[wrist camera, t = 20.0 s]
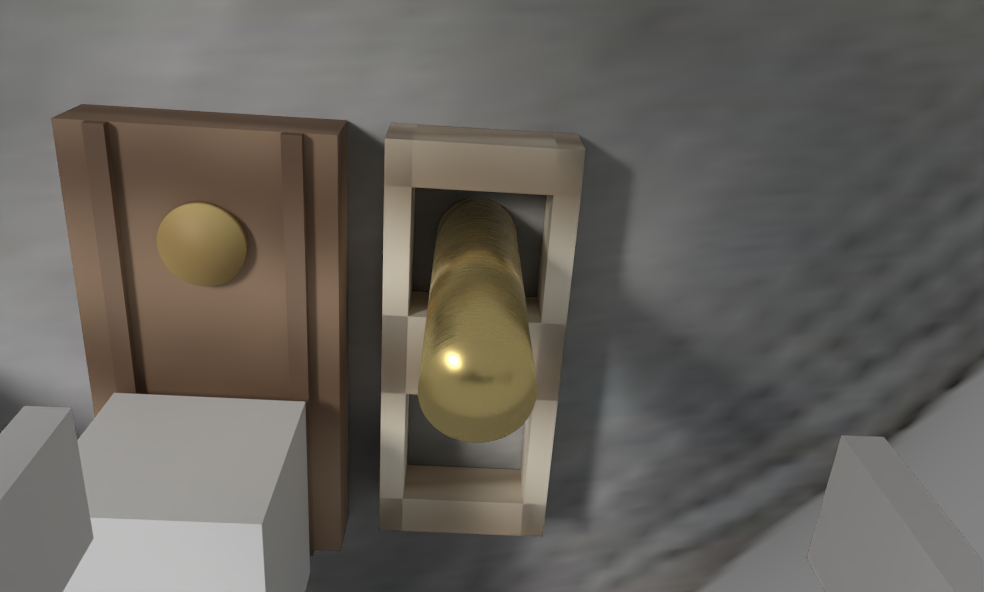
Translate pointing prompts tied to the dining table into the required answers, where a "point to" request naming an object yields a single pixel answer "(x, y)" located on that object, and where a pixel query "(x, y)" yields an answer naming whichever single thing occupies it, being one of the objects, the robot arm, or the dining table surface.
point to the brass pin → (477, 328)
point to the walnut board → (216, 267)
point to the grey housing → (195, 496)
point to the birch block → (441, 165)
